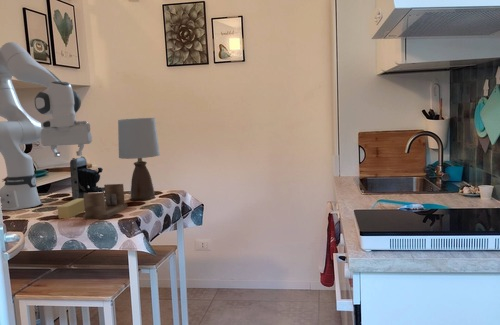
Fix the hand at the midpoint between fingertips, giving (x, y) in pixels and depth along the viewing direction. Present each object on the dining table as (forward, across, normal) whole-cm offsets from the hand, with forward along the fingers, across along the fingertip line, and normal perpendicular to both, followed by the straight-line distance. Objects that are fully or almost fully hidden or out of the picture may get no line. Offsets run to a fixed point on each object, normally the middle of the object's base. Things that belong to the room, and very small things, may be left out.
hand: (68, 156), depth 189 cm
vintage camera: (+24, +8, -34) cm, 42 cm away
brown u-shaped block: (+24, -14, 0) cm, 28 cm away
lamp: (+24, -19, -30) cm, 43 cm away
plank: (+24, 0, 0) cm, 24 cm away
